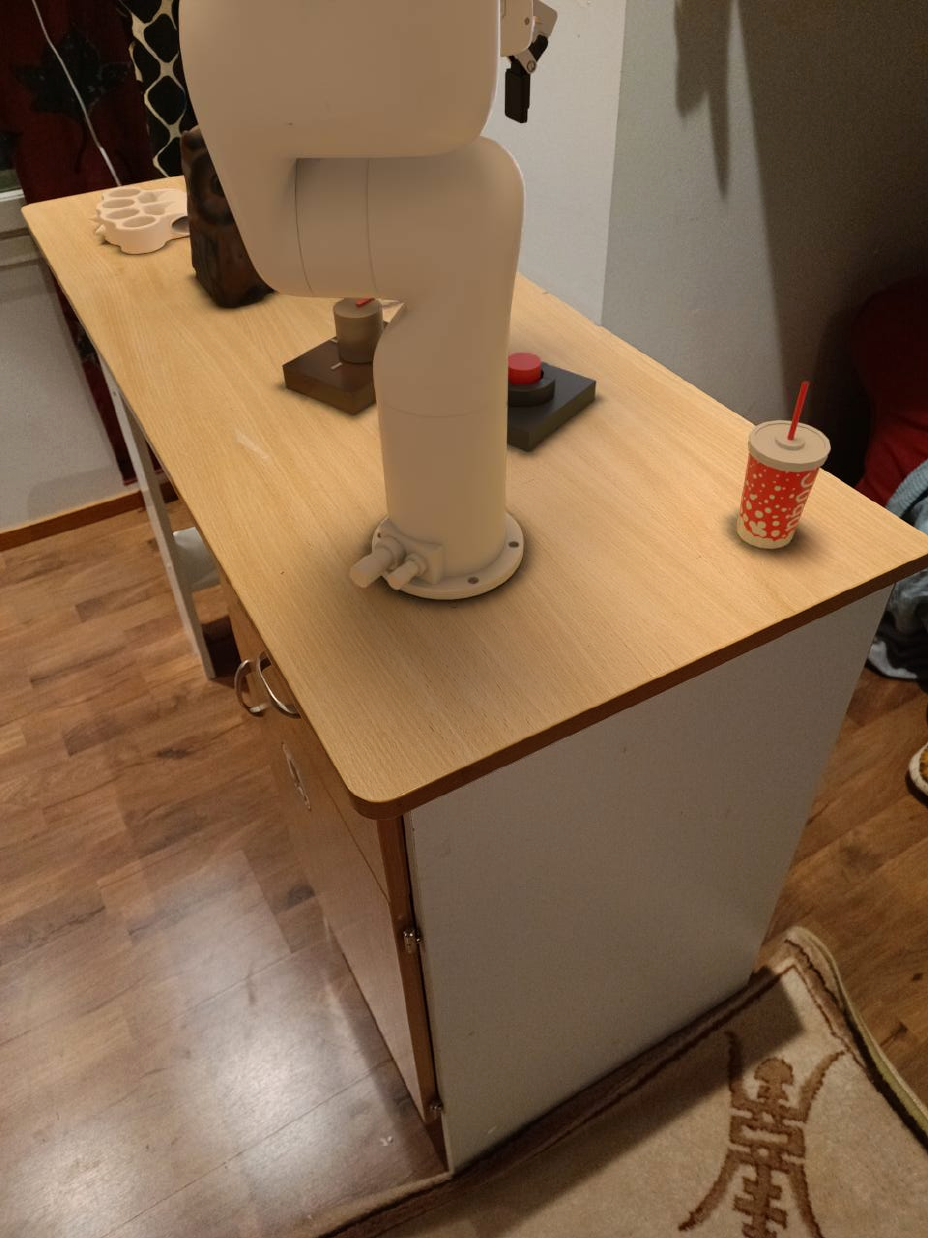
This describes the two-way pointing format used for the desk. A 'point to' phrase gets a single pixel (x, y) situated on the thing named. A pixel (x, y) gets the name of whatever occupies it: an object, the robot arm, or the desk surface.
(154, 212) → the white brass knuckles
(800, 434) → the beverage cup
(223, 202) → the owl
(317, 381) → the dimmer panel
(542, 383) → the switch block
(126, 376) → the desk surface
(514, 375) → the power button
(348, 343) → the dimmer knob
